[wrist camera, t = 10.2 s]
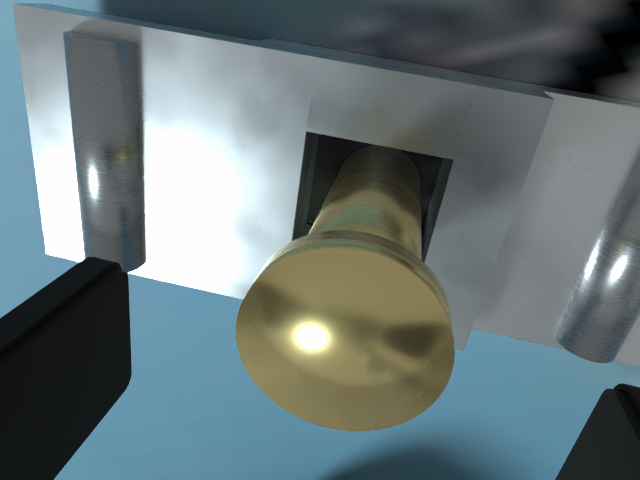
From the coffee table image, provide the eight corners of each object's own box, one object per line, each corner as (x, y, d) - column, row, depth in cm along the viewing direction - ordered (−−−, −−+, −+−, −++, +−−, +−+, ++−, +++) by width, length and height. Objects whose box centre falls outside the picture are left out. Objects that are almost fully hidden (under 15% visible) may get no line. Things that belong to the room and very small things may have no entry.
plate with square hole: (772, 125, 15) (882, 163, 12) (644, 346, 19) (696, 424, 16) (73, 3, 18) (-16, 3, 14) (91, 223, 22) (26, 267, 18)
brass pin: (450, 140, 17) (484, 282, 8) (421, 247, 19) (423, 452, 10) (331, 118, 18) (243, 230, 9) (314, 224, 20) (229, 402, 11)
